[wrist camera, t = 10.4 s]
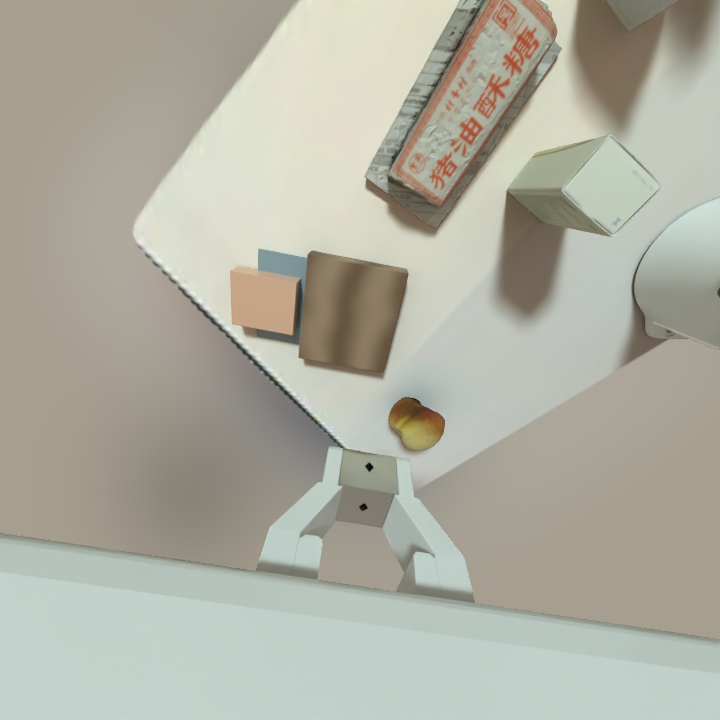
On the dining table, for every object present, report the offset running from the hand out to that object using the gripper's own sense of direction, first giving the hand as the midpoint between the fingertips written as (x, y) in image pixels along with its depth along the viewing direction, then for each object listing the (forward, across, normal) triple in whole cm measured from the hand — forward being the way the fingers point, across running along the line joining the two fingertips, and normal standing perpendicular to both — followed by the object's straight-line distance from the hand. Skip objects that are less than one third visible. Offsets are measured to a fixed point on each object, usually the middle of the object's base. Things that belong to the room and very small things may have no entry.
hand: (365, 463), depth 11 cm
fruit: (+31, -10, +19) cm, 38 cm away
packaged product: (+32, -5, -16) cm, 36 cm away
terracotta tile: (+31, +13, +6) cm, 34 cm away
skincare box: (+31, -16, -12) cm, 37 cm away
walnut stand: (+31, +2, +6) cm, 32 cm away
